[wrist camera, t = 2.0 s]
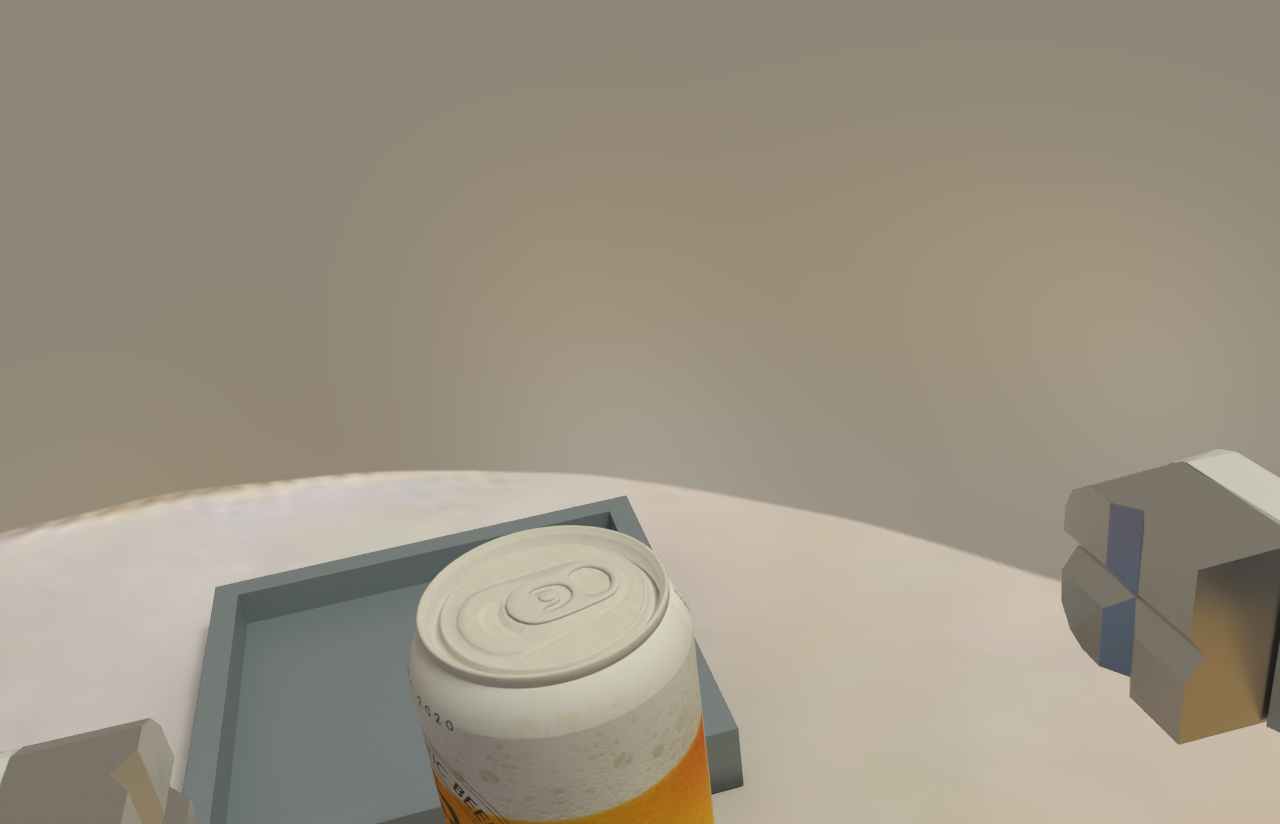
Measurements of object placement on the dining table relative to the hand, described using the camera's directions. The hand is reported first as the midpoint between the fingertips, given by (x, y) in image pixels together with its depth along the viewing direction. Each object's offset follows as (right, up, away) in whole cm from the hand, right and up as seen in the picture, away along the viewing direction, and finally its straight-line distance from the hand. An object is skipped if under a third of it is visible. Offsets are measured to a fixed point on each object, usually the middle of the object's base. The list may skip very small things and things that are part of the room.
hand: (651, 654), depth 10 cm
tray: (-7, -9, +34) cm, 36 cm away
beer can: (0, -15, +21) cm, 26 cm away
